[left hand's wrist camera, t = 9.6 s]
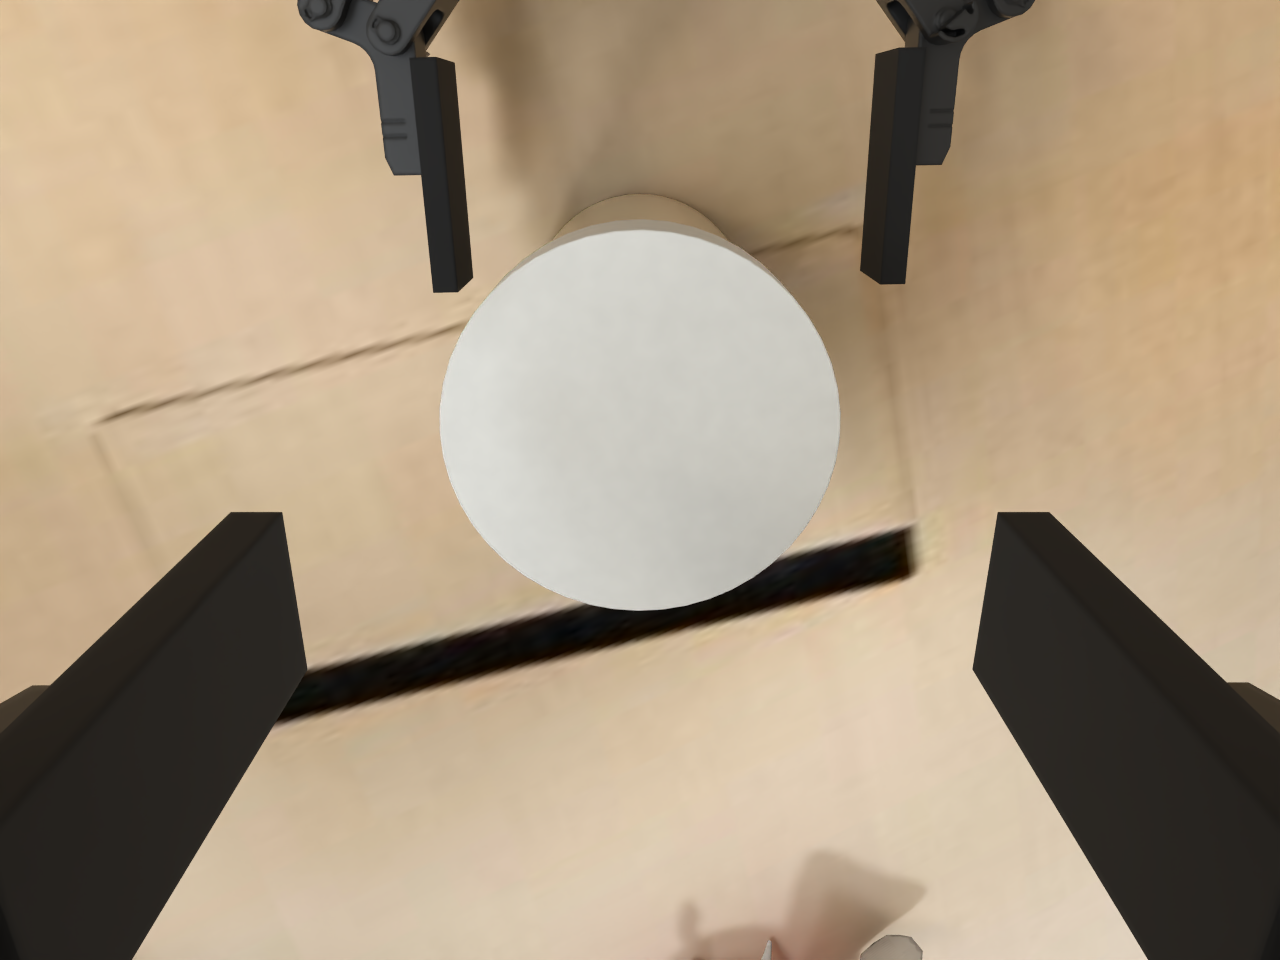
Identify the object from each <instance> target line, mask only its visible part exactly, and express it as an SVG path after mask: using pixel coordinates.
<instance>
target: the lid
mask: <svg viewBox="0 0 1280 960" xmlns="http://www.w3.org/2000/svg"><path fill="white" fill-rule="evenodd" d="M840 415H841V412H840V403H839V394H838V386H837V382H836V378H835V375H834V371H833V367H832V363H831V360H830V358H829V355H828V353H827V351H826V348H825V346H824V343H823V341H822V338H821V337H820V335H819V333H818V332H817V330H816V328H815V326H814V325H813V323H812V321H811V320H810V318H809V316H808V315H807V314H806V312H805V311H804V310H803V309H802V307H801V306H800V305H799V303H798V302H797V301H796V300H795V298H794V297H793V296H792V295H791V294H790V292H789V291H788V290H787V289H786V288H785V287H784V285H783V284H782V283H781V282H780V281H779V280H778V279H777V278H776V277H775V276H774V275H773V274H772V273H771V272H770V271H769V270H768V269H767V268H766V267H765V266H764V265H763V264H762V263H761V262H759V261H758V260H757V259H755V258H754V257H752V256H751V255H750V254H748V253H747V252H745V251H744V250H743V249H741V248H740V247H738V246H736V245H734V244H732V243H730V242H729V241H727V240H725V239H723V238H721V237H719V236H717V235H714V234H712V233H709V232H706V231H704V230H701V229H698V228H695V227H692V226H688V225H683V224H679V223H674V222H669V221H659V220H647V219H636V220H618V221H612V222H607V223H602V224H596V225H591V226H588V227H585V228H582V229H579V230H576V231H573V232H571V233H568V234H565V235H563V236H561V237H559V238H557V239H555V240H553V241H551V242H549V243H547V244H545V245H544V246H542V247H541V248H539V249H538V250H536V251H535V252H533V253H532V254H530V255H529V256H527V257H526V258H525V259H523V260H522V261H521V262H520V263H519V264H518V265H516V266H515V267H514V268H513V269H512V270H511V271H510V272H509V273H508V274H507V275H506V276H504V278H503V279H502V280H501V281H500V282H499V283H498V285H497V286H496V287H495V288H494V289H493V290H492V292H491V293H490V294H489V295H488V296H487V298H486V299H485V300H484V301H483V302H482V304H481V305H480V306H479V307H478V308H477V310H476V311H475V312H474V314H473V315H472V317H471V318H470V320H469V322H468V323H467V325H466V326H465V328H464V330H463V331H462V333H461V335H460V337H459V339H458V341H457V344H456V346H455V348H454V350H453V353H452V355H451V357H450V360H449V364H448V367H447V371H446V374H445V378H444V382H443V387H442V395H441V402H440V438H441V445H442V452H443V458H444V462H445V465H446V469H447V472H448V476H449V479H450V482H451V485H452V487H453V489H454V491H455V494H456V496H457V498H458V501H459V503H460V505H461V506H462V508H463V510H464V511H465V513H466V515H467V516H468V518H469V520H470V521H471V523H472V525H473V526H474V527H475V528H476V530H477V531H478V532H479V534H480V535H481V536H482V537H483V539H484V540H485V541H486V542H487V544H488V545H489V546H490V547H491V548H492V549H493V550H494V551H495V552H496V553H497V554H499V555H500V556H501V557H502V558H503V559H504V560H505V561H506V562H507V563H508V564H510V565H511V566H512V567H514V568H515V569H516V570H518V571H519V572H520V573H522V574H523V575H524V576H526V577H528V578H529V579H531V580H533V581H534V582H536V583H538V584H539V585H541V586H543V587H544V588H547V589H549V590H551V591H553V592H556V593H558V594H560V595H563V596H565V597H567V598H570V599H574V600H577V601H580V602H583V603H587V604H590V605H595V606H601V607H606V608H611V609H622V610H637V611H639V610H660V609H668V608H674V607H680V606H686V605H689V604H693V603H696V602H700V601H703V600H707V599H710V598H712V597H715V596H717V595H720V594H722V593H724V592H727V591H729V590H732V589H733V588H735V587H737V586H739V585H740V584H742V583H744V582H746V581H748V580H749V579H751V578H753V577H754V576H756V575H757V574H758V573H760V572H761V571H762V570H764V569H765V568H766V567H768V566H769V565H771V564H772V563H773V562H774V561H775V560H776V559H777V558H778V557H779V556H780V555H782V554H783V553H784V552H785V551H786V550H787V549H788V548H789V547H790V546H791V545H792V543H793V542H794V541H795V540H796V539H797V537H798V536H799V535H800V534H801V532H802V531H803V530H804V529H805V527H806V526H807V524H808V523H809V521H810V520H811V518H812V516H813V515H814V513H815V512H816V510H817V509H818V507H819V505H820V502H821V500H822V498H823V496H824V494H825V492H826V490H827V487H828V485H829V482H830V479H831V475H832V472H833V469H834V466H835V463H836V457H837V451H838V445H839V439H840Z"/></svg>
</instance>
